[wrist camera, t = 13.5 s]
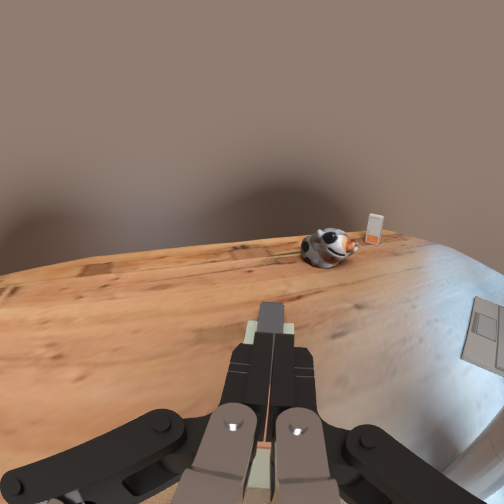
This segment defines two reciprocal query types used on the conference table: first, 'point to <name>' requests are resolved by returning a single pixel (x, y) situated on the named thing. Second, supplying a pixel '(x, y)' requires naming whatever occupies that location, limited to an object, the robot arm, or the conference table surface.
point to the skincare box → (374, 229)
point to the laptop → (486, 337)
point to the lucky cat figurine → (327, 247)
